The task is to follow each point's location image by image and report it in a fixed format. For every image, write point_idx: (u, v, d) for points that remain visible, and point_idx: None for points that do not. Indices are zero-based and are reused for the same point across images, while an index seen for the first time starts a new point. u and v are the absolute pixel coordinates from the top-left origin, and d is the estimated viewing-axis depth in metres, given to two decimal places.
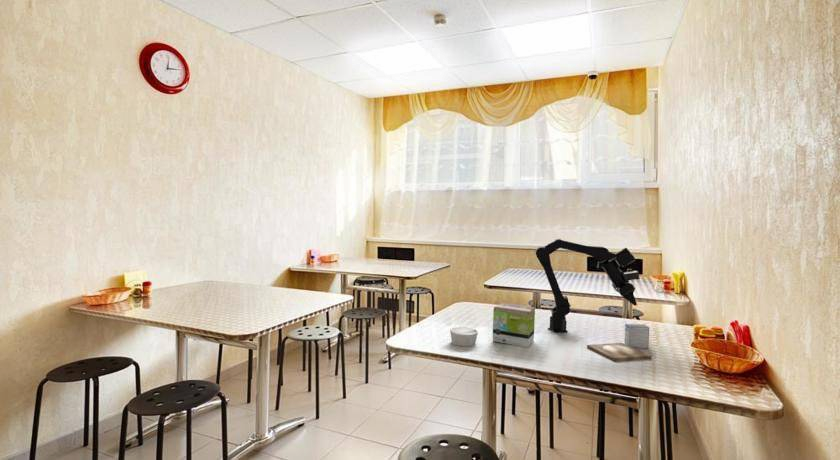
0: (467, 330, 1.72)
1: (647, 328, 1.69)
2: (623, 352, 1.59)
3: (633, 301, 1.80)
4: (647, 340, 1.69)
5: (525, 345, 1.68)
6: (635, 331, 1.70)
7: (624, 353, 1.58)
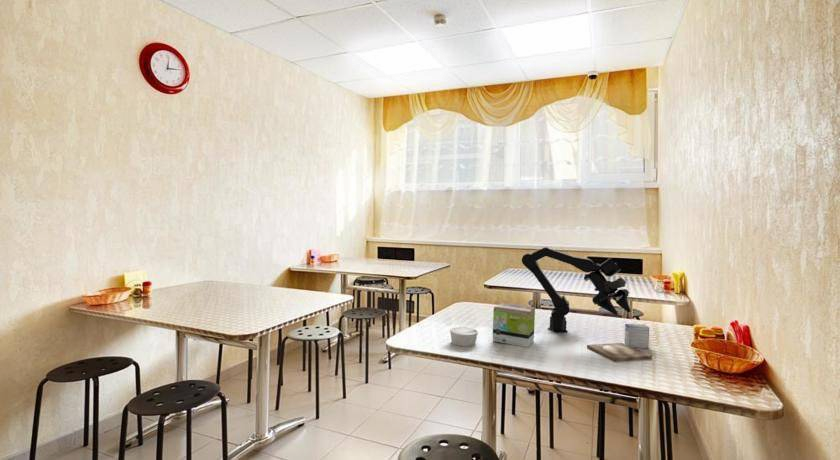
0: (467, 330, 1.72)
1: (647, 328, 1.69)
2: (623, 352, 1.59)
3: (612, 310, 1.75)
4: (647, 340, 1.69)
5: (525, 345, 1.68)
6: (635, 331, 1.70)
7: (624, 353, 1.58)
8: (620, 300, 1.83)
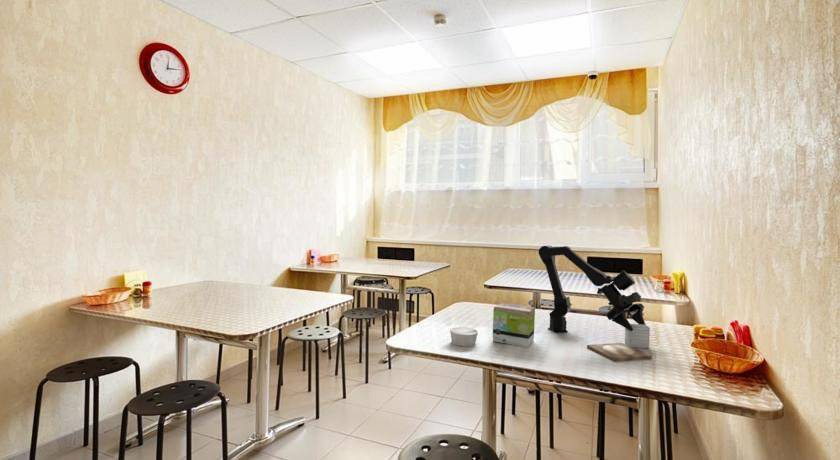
0: (467, 330, 1.72)
1: (647, 328, 1.69)
2: (623, 352, 1.59)
3: (627, 326, 1.69)
4: (647, 340, 1.69)
5: (525, 345, 1.68)
6: (636, 331, 1.69)
7: (624, 353, 1.58)
8: (635, 315, 1.77)
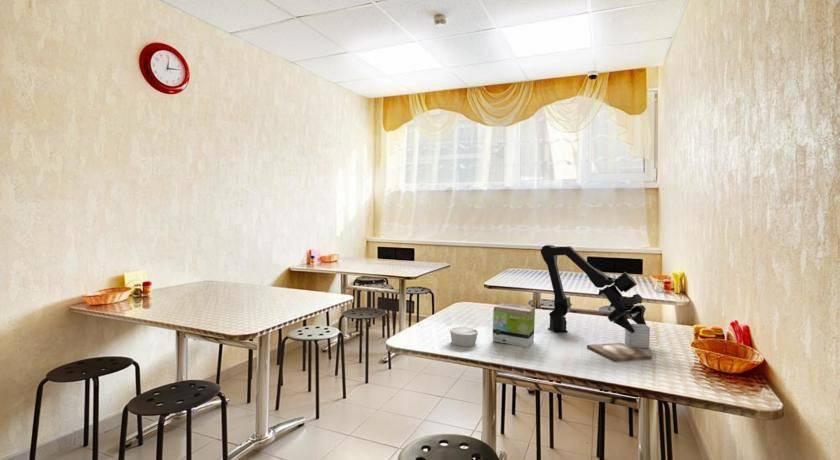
0: (467, 330, 1.72)
1: (647, 328, 1.69)
2: (623, 352, 1.59)
3: (629, 328, 1.69)
4: (647, 340, 1.69)
5: (525, 345, 1.68)
6: (636, 331, 1.69)
7: (624, 353, 1.58)
8: (636, 317, 1.77)
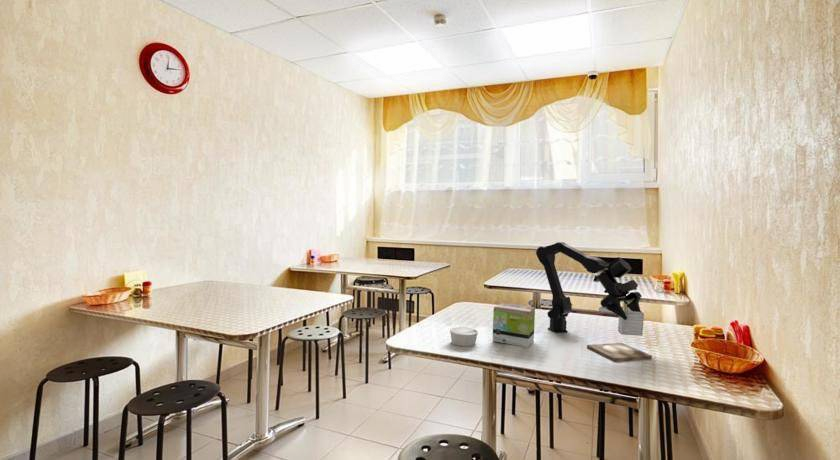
0: (467, 330, 1.72)
1: (641, 315, 1.64)
2: (623, 352, 1.59)
3: (621, 314, 1.64)
4: (641, 328, 1.64)
5: (525, 345, 1.68)
6: (629, 318, 1.64)
7: (624, 353, 1.58)
8: (631, 304, 1.71)
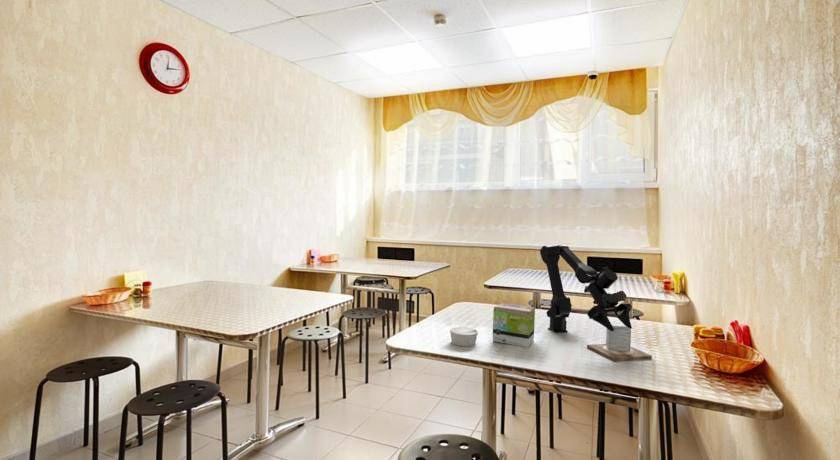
0: (467, 330, 1.72)
1: (629, 330, 1.60)
2: (623, 352, 1.59)
3: (608, 326, 1.60)
4: (629, 343, 1.60)
5: (525, 345, 1.68)
6: (615, 333, 1.61)
7: (624, 353, 1.58)
8: (621, 315, 1.67)
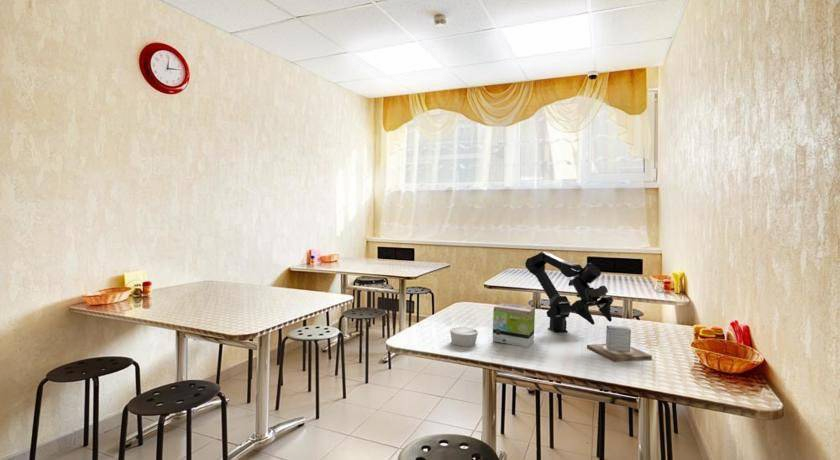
0: (467, 330, 1.72)
1: (628, 331, 1.60)
2: (623, 352, 1.59)
3: (589, 319, 1.70)
4: (628, 343, 1.60)
5: (525, 345, 1.68)
6: (615, 334, 1.61)
7: (624, 353, 1.58)
8: (602, 308, 1.77)
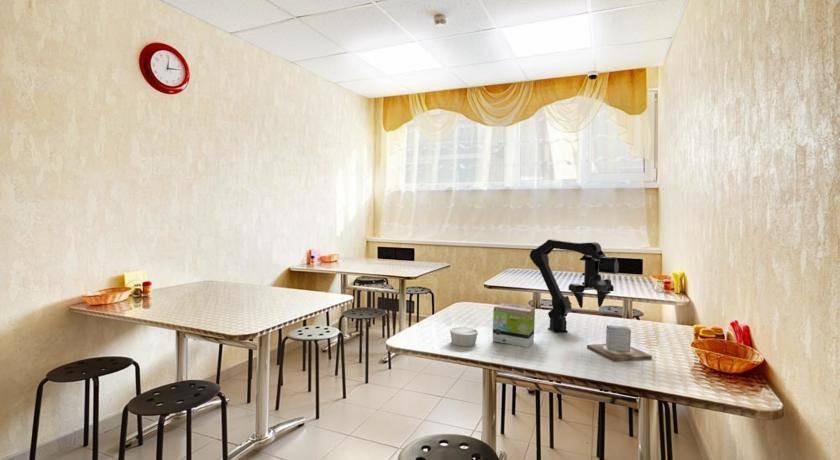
0: (467, 330, 1.72)
1: (628, 331, 1.60)
2: (623, 352, 1.59)
3: (579, 303, 1.82)
4: (628, 343, 1.60)
5: (525, 345, 1.68)
6: (615, 334, 1.61)
7: (624, 353, 1.58)
8: (600, 292, 1.85)
